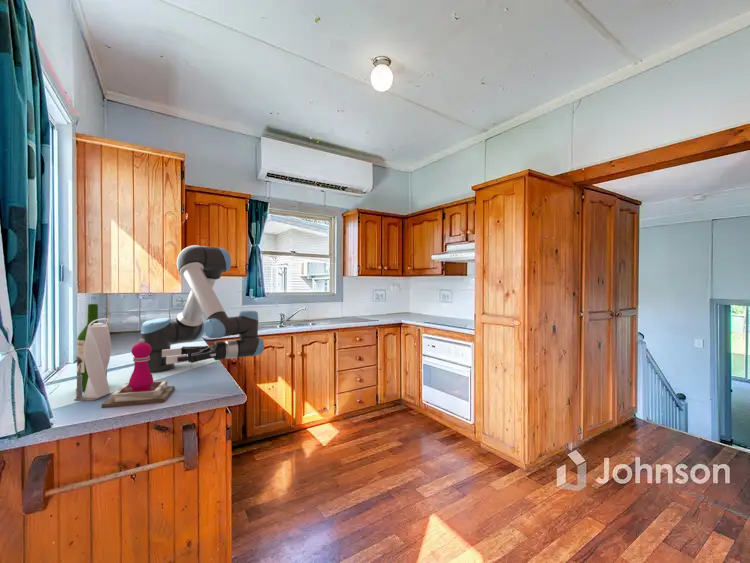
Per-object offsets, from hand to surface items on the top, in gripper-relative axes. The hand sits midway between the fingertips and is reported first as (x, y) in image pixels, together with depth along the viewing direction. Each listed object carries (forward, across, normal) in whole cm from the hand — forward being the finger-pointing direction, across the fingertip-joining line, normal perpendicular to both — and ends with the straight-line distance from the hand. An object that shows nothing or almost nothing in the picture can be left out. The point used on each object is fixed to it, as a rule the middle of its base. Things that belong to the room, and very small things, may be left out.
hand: (163, 356), depth 125 cm
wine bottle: (+21, +24, -14) cm, 35 cm away
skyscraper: (+20, +10, -14) cm, 26 cm away
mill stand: (+7, 0, -14) cm, 15 cm away
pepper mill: (+7, 0, -13) cm, 15 cm away
